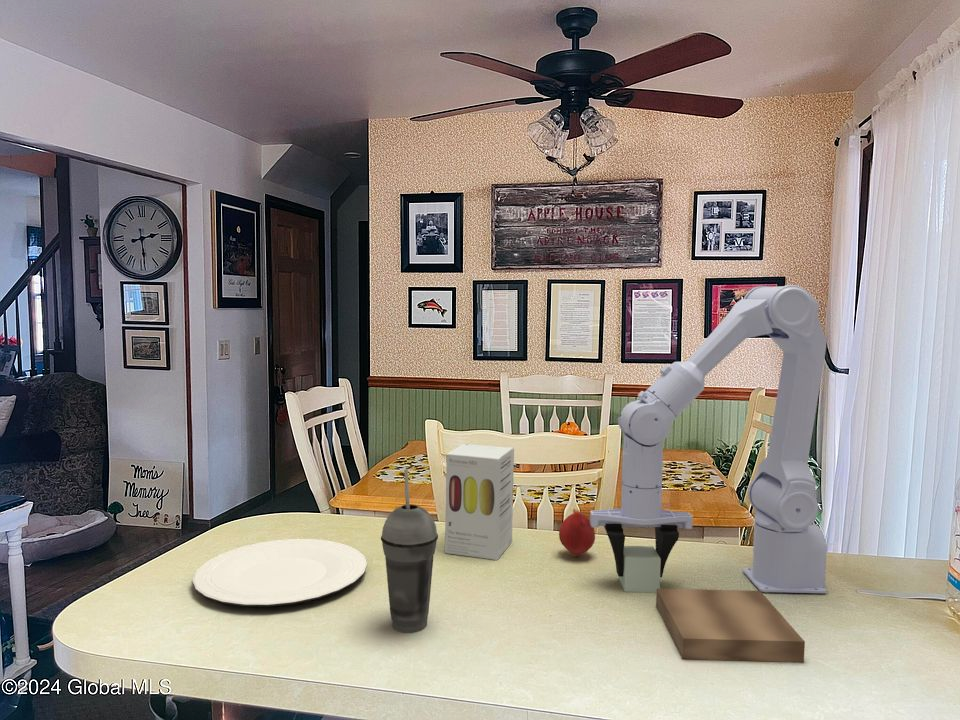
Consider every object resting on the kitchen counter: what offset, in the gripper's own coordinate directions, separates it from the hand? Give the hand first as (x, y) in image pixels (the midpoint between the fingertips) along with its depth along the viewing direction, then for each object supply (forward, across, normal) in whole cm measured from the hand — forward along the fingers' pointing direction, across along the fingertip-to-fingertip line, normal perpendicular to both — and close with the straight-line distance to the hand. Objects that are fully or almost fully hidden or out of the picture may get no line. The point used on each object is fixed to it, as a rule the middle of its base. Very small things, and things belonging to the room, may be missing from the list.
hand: (639, 574), depth 101 cm
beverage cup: (+2, +32, +14) cm, 35 cm away
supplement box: (+2, +24, -14) cm, 28 cm away
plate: (+2, +53, 0) cm, 53 cm away
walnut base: (+2, -8, +14) cm, 16 cm away
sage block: (+2, 0, 0) cm, 2 cm away
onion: (+2, +8, -11) cm, 14 cm away
